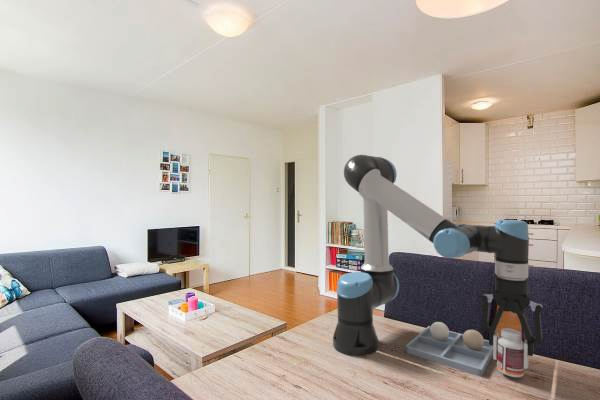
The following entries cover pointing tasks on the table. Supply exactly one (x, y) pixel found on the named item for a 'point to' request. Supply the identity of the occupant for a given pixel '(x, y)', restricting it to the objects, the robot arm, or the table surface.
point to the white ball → (439, 331)
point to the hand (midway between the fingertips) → (510, 361)
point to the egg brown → (473, 339)
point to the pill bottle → (510, 353)
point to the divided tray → (451, 352)
